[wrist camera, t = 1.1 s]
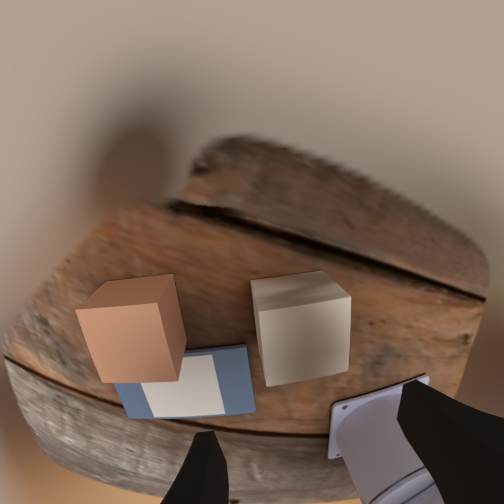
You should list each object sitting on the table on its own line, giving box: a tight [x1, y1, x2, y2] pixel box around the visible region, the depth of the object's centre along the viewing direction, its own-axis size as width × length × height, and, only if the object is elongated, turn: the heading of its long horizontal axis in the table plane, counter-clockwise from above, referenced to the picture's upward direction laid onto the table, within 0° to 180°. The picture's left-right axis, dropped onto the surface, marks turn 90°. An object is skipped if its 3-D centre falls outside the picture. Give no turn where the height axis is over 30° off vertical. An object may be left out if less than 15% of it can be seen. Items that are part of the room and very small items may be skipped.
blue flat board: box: [113, 344, 256, 419], centre depth 19 cm, size 10×6×1 cm, turn 97°
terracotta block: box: [76, 274, 187, 383], centre depth 15 cm, size 4×4×4 cm
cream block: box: [250, 270, 351, 387], centre depth 16 cm, size 4×4×4 cm
